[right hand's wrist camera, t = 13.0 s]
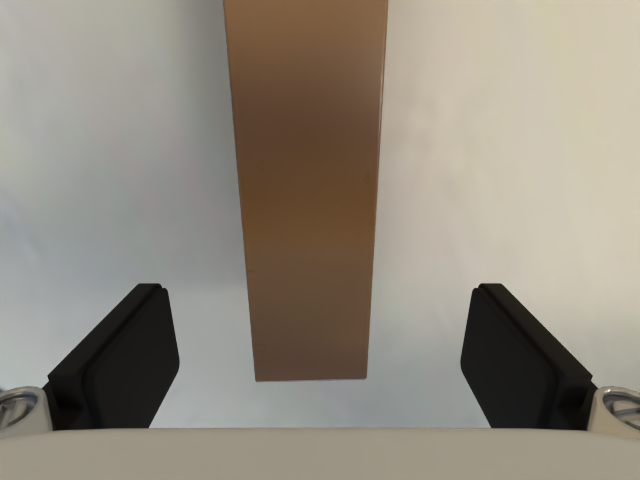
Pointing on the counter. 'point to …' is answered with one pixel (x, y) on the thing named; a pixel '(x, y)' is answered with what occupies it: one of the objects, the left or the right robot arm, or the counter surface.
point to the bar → (308, 177)
